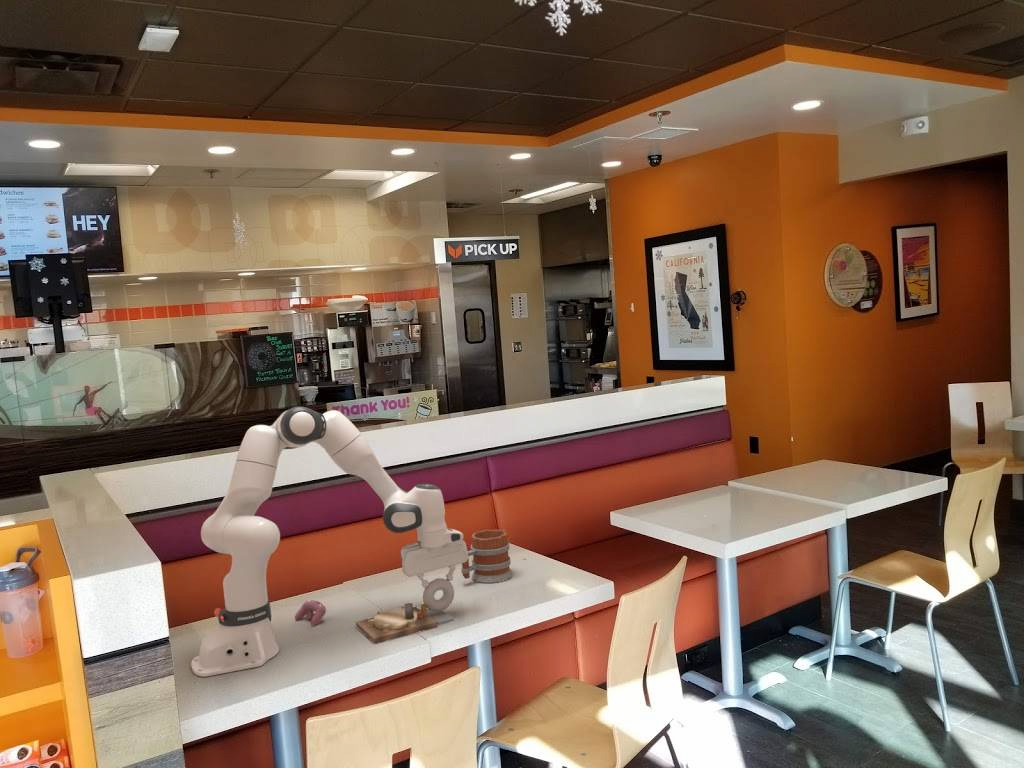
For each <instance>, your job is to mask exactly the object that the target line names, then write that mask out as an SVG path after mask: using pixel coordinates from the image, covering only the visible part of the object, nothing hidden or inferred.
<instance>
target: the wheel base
mask: <svg viewBox="0 0 1024 768" xmlns="http://www.w3.org/2000/svg"><path fill="white" fill-rule="evenodd" d="M419 606H420V609H419V608H418V607H417V606H413V610H414V611H416V612H418V611H422V612H423V618H417V621H416V623H415V627H412V628H410V627H405V628H401V629H395V630H390V631H389V632H384V631H383V629H379V628H377V627H375V626H373V627H369V624H368V620H372V619H374V617H375V616H374V617H370V618H366V619H361V620H358V621H355V627H356V626H357V627H358V628H359V629H360V630H361V631H362V632H363V633H364V634H365V635H366V636H365V635H364V634H363V633H362V632H361V631H360V630H359V629H358V628H357V627H356V628H357V629H358V630H359V631H360V632H361V633H362V634H363V635H364V636H365V637H367V639H368V640H370V641H371V642H372V643H373V644H374V643H376V644H379V643H378V642H380V643H384V642H387V641H391V640H395V639H399V638H401V637H406V636H409V635H414V634H417V633H420V632H419V631H421V632H424V631H423V630H425V631H428V630H432V629H435V628H439V627H438V626H439V624H437V621H435V620H434V619H432V618H431V617H430V616H428V615H427V609H428V608H427V607H426V605H425V604H424V603H421V604H419ZM416 632H417V633H416ZM386 640H387V641H386ZM383 641H384V642H383Z"/></svg>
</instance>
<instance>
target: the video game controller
mask: <svg viewBox="0 0 1024 768" xmlns="http://www.w3.org/2000/svg"><path fill="white" fill-rule="evenodd" d="M326 612H327V607H326V606H325V605H324V604H323V603H322V602H320V601H318V600H306V601H305V602H304V603H302V606H300V608H299V609H298V611H297V612H296V613H295V616H294V619H295V620H296V622H298V621H300V620H302V619H303V618H304V617H305V616H306V617H305V618H306V619H307V620H310V625H311V626H312V627H314V626H313V625H315V626H316V624H317V625H318V624H320V622H321V621H322V619H323V618H324V616H325V614H326Z"/></svg>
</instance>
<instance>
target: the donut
mask: <svg viewBox="0 0 1024 768" xmlns="http://www.w3.org/2000/svg"><path fill="white" fill-rule="evenodd" d="M438 591H442V596H441V598H439V599H435V594H436V593H437V592H438ZM454 598H455V588H454V586H453V584H452V582H451V581H448V580H447V579H445V578H441V577H439V578H435V579H433V580H431V581H430V582H429V586H428V587H425V588H424V590H423V592H422V601H423V604H425V605H426V609H429V610H431V611H434V612H439V611H445V610H446V609H447V608H449V607H450V606H451V605H452V603H453V600H454Z"/></svg>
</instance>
